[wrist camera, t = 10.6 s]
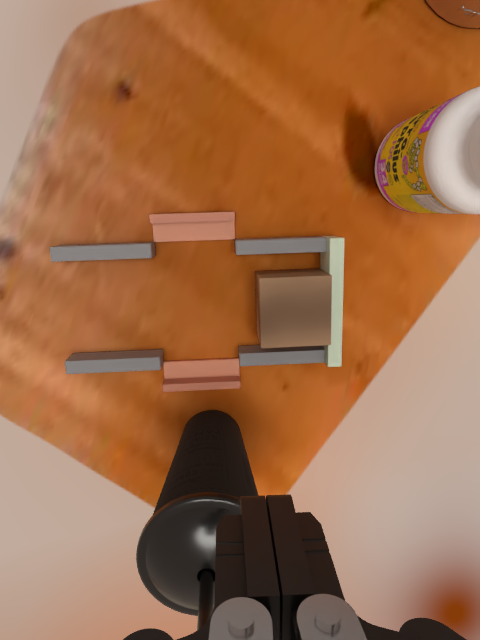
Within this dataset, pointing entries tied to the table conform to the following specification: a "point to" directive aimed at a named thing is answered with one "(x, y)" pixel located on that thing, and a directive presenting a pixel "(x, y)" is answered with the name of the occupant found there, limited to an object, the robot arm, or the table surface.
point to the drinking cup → (194, 514)
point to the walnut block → (293, 307)
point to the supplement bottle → (434, 159)
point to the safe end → (334, 296)
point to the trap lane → (175, 372)
